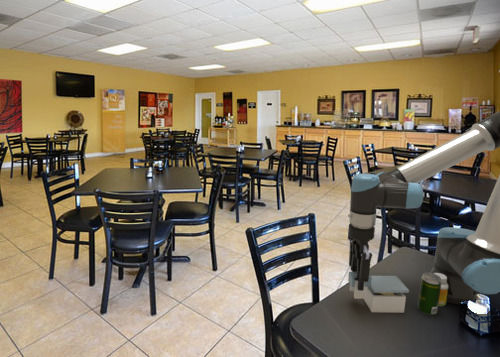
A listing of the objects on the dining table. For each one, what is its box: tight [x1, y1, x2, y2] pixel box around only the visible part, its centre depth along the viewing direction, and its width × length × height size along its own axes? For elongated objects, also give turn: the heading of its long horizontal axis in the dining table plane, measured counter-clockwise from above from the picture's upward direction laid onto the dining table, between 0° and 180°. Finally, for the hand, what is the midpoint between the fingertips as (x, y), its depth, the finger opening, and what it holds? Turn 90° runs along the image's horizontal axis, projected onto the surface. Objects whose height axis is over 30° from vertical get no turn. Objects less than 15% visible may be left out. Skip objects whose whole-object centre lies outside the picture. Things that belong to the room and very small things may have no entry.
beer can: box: [417, 272, 441, 316], centre depth 97 cm, size 5×5×12 cm
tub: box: [362, 287, 407, 314], centre depth 100 cm, size 10×8×6 cm
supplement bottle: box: [434, 273, 448, 307], centre depth 102 cm, size 5×5×10 cm
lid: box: [347, 271, 410, 294], centre depth 99 cm, size 17×9×4 cm, turn 90°
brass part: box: [377, 293, 396, 296], centre depth 100 cm, size 4×4×4 cm
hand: (356, 293), depth 100 cm, fingers closed on lid, 3 cm apart
